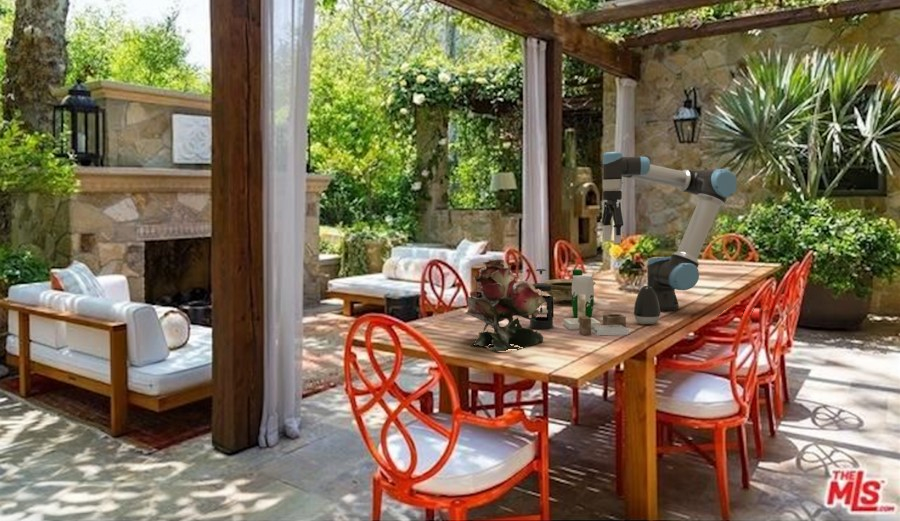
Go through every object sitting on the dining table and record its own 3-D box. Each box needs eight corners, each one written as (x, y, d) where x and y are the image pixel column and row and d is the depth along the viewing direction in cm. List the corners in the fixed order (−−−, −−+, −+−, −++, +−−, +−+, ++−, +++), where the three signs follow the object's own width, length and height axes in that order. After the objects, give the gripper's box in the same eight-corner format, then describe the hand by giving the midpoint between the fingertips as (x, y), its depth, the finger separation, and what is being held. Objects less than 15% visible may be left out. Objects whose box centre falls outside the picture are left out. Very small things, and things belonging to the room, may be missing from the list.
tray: (592, 323, 275) (593, 317, 275) (600, 328, 265) (600, 322, 265) (563, 325, 274) (563, 318, 274) (569, 330, 264) (569, 323, 264)
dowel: (584, 324, 271) (584, 294, 270) (586, 325, 268) (586, 295, 267) (576, 324, 271) (576, 294, 270) (578, 326, 268) (578, 295, 267)
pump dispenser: (660, 321, 277) (661, 284, 275) (659, 326, 267) (660, 287, 265) (634, 320, 280) (634, 283, 278) (632, 325, 270) (632, 287, 269)
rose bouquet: (553, 339, 248) (552, 257, 245) (504, 355, 227) (503, 264, 224) (496, 331, 265) (495, 253, 262) (446, 345, 244) (444, 260, 240)
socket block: (619, 323, 274) (619, 313, 274) (625, 327, 267) (625, 316, 267) (602, 324, 274) (602, 314, 273) (608, 327, 267) (608, 317, 266)
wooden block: (587, 331, 260) (587, 316, 259) (590, 334, 255) (590, 318, 254) (579, 332, 260) (579, 316, 259) (583, 334, 255) (583, 319, 254)
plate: (620, 331, 263) (620, 324, 262) (628, 335, 254) (628, 329, 253) (590, 332, 262) (590, 325, 261) (596, 337, 253) (596, 330, 253)
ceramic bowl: (573, 309, 308) (573, 287, 307) (530, 304, 324) (530, 283, 323) (608, 300, 329) (608, 280, 328) (566, 296, 346) (566, 276, 345)
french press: (541, 330, 264) (540, 271, 261) (523, 327, 271) (522, 269, 268) (561, 326, 271) (560, 268, 269) (543, 323, 279) (542, 266, 276)
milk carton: (572, 315, 295) (571, 268, 293) (593, 315, 293) (593, 268, 291) (571, 318, 286) (571, 271, 284) (593, 319, 284) (593, 271, 282)
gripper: (631, 189, 268) (631, 244, 270) (611, 190, 293) (611, 239, 295) (613, 190, 267) (612, 244, 270) (594, 190, 292) (594, 240, 294)
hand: (612, 242), depth 282 cm, fingers open, 13 cm apart
